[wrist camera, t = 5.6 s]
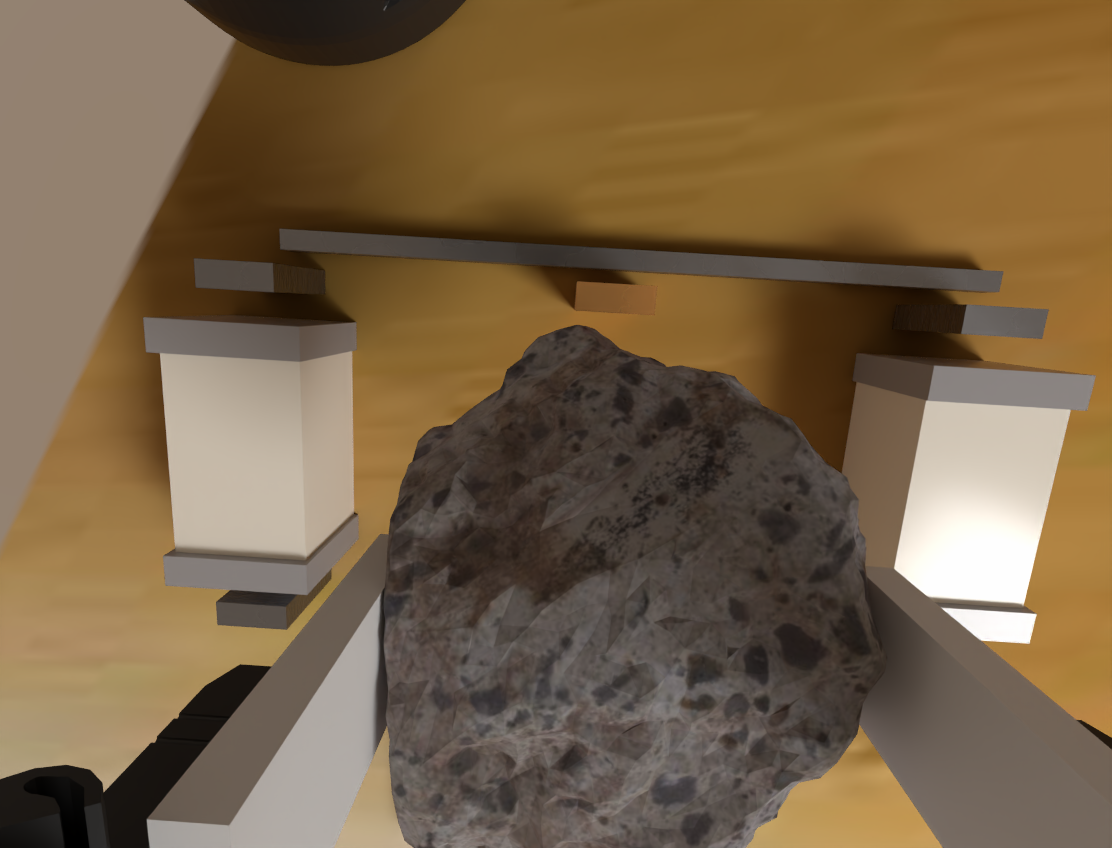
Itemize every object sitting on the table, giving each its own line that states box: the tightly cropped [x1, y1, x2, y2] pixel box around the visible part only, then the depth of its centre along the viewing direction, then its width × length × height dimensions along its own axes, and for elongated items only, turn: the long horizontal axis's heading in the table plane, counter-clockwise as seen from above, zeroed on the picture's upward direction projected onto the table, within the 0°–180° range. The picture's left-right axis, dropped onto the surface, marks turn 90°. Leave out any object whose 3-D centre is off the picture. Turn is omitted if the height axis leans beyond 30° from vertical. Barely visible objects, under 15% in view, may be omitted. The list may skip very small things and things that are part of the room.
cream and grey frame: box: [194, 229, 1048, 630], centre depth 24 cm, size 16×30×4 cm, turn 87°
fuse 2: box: [842, 353, 1095, 643], centre depth 23 cm, size 10×5×5 cm, turn 177°
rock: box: [383, 325, 887, 848], centre depth 11 cm, size 9×11×4 cm
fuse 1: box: [143, 315, 359, 595], centre depth 23 cm, size 10×5×5 cm, turn 177°
